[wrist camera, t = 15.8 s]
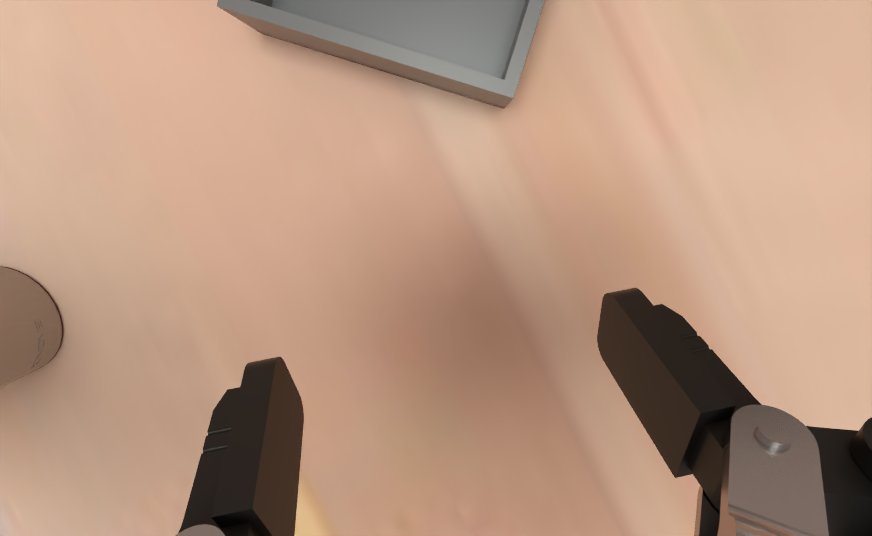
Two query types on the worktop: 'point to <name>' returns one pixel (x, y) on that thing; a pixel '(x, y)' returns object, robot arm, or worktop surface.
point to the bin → (411, 37)
